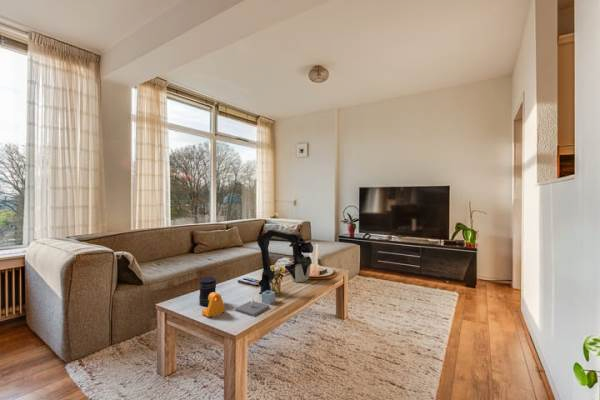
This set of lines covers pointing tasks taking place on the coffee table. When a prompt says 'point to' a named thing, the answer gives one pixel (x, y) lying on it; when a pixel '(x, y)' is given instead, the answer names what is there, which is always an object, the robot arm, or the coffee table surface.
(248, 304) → the pin plate
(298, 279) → the canister
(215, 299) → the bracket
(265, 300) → the blue-grey hollow cube
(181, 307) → the coffee table surface
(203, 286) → the storage jar
